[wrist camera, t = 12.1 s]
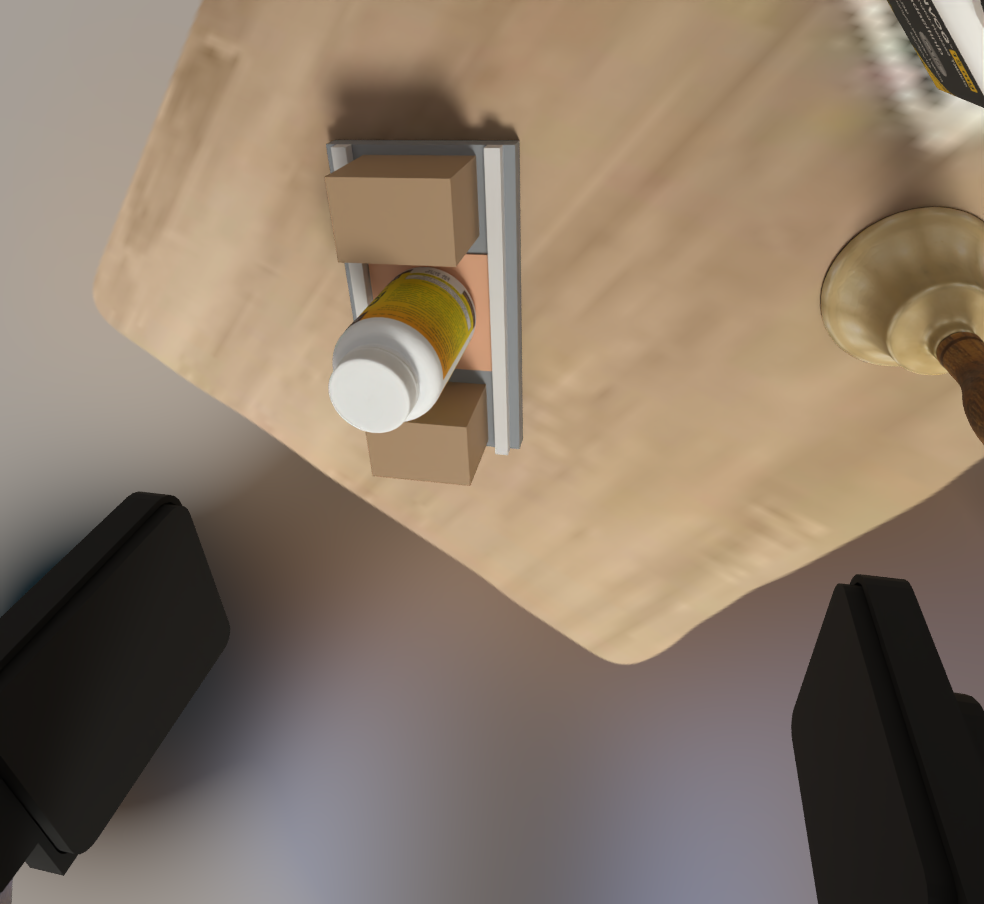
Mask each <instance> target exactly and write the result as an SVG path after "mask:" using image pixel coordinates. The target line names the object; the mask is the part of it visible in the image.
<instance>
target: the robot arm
mask: <svg viewBox="0 0 984 904" xmlns="http://www.w3.org/2000/svg"><path fill="white" fill-rule="evenodd" d="M229 635H230V625H229V621H228V619H227V616H226V613H225V610H224V607H223V605H222V602H221V599H220V596H219V593H218V591H217V588H216V585H215V582H214V579H213V577H212V574H211V571H210V569H209V565H208V563H207V560H206V557H205V554H204V551H203V549H202V546H201V543H200V540H199V537H198V535H197V532H196V529H195V526H194V524H193V521H192V518H191V515H190V513H189V511H188V509H187V508H186V507H184V506H182V504H181V502H180V501H179V499H177V498H176V497H175V496H171V495H165V494H156V493H147V492H135V493H133V494H131V495H130V496H128V497H127V498H126V499H125V500H124V501H123V502H122V503H121V504H120V505H119V506H117V507H116V509H114V510H113V511H112V512H111V513H110V514H109V515H108V516H107V517H106V518H105V519H104V520H103V521H102V522H101V523H100V524H99V525H98V526H96V527H95V528H94V529H93V530H92V531H91V532H90V533H89V534H88V535H87V536H86V537H85V538H84V539H83V540H82V541H81V542H80V543H79V544H78V545H76V546H75V547H74V548H73V549H72V550H71V551H70V552H69V553H68V554H67V555H66V556H65V557H64V558H63V559H62V560H61V561H60V562H59V563H58V564H56V566H54V567H53V568H52V569H51V570H50V571H49V572H48V573H47V574H46V575H45V576H44V577H43V578H42V579H41V580H40V581H39V582H38V583H37V584H36V585H34V586H33V587H32V588H31V589H30V590H29V591H28V592H27V593H26V594H25V595H24V596H23V597H22V598H21V599H20V600H19V601H18V602H17V603H15V604H14V605H13V606H12V607H11V608H10V609H9V610H8V611H7V612H6V613H5V614H4V615H3V616H2V617H1V618H0V904H11V902H12V880H13V877H14V875H15V874H16V872H17V871H18V870H19V868H20V867H21V866H22V865H23V863H24V862H26V863H27V864H28V865H29V867H30V868H34V869H38V870H43V871H47V872H51V873H55V874H59V875H63V876H64V875H65V873H66V872H67V870H68V868H69V867H70V866H71V864H72V863H73V861H74V860H75V858H76V857H77V855H78V854H81V853H84V852H85V851H87V850H88V849H89V848H90V847H91V846H92V845H93V844H94V842H95V841H96V840H97V838H98V837H99V836H100V834H101V833H102V831H103V830H104V828H105V827H106V825H107V824H108V822H109V821H110V819H111V818H112V816H113V815H114V813H115V812H116V810H117V809H118V807H119V806H120V804H121V803H122V801H123V800H124V798H125V797H126V795H127V794H128V792H129V791H130V789H131V788H132V786H133V785H134V783H135V782H136V780H137V779H138V777H139V776H140V774H141V773H142V771H143V769H144V768H145V767H146V765H147V764H148V762H149V761H150V759H151V758H152V756H153V755H154V753H155V752H156V750H157V749H158V747H159V746H160V744H161V743H162V741H163V740H164V738H165V737H166V735H167V734H168V732H169V731H170V729H171V728H172V726H173V725H174V723H175V722H176V720H177V719H178V717H179V716H180V714H181V713H182V711H183V710H184V708H185V707H186V705H187V704H188V702H189V701H190V699H191V698H192V696H193V695H194V693H195V692H196V690H197V689H198V687H199V686H200V684H201V683H202V681H203V680H204V679H205V677H206V675H207V674H208V672H209V671H210V670H211V668H212V666H213V665H214V664H215V662H216V661H217V659H218V657H219V656H220V654H221V653H222V652H223V650H224V648H225V647H226V645H227V642H228V639H229ZM791 729H792V741H793V748H794V754H795V761H796V767H797V773H798V779H799V786H800V792H801V798H802V805H803V811H804V817H805V824H806V830H807V836H808V843H809V849H810V855H811V862H812V868H813V874H814V880H815V887H816V893H817V899H818V904H984V711H983V709H982V707H981V705H980V704H979V703H978V702H977V701H976V700H975V699H974V698H973V697H972V696H969V695H966V694H960V693H954V692H953V690H952V687H951V685H950V682H949V680H948V678H947V675H946V672H945V670H944V667H943V664H942V662H941V660H940V657H939V655H938V652H937V649H936V647H935V644H934V642H933V639H932V637H931V634H930V632H929V629H928V626H927V624H926V621H925V619H924V616H923V614H922V611H921V609H920V606H919V604H918V601H917V599H916V596H915V594H914V591H913V589H912V587H911V585H910V583H909V582H908V581H906V580H904V579H895V578H887V577H878V576H870V575H861V574H860V575H859V574H857V575H855V576H854V577H853V578H852V580H851V582H850V585H849V584H837V586H836V587H835V589H834V591H833V595H832V598H831V600H830V603H829V606H828V609H827V612H826V615H825V618H824V621H823V624H822V627H821V630H820V633H819V636H818V639H817V642H816V645H815V648H814V651H813V654H812V657H811V659H810V662H809V666H808V668H807V672H806V674H805V677H804V680H803V683H802V686H801V689H800V692H799V695H798V698H797V701H796V704H795V707H794V710H793V715H792V725H791Z"/></svg>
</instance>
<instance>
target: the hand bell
mask: <svg viewBox="0 0 984 904" xmlns="http://www.w3.org/2000/svg"><path fill="white" fill-rule="evenodd" d="M821 314H822V319H823V322H824V325H825V328H826V330H827V331H828V333H829V335H830V337H831V338H832V340H833V341H834V342H835V343H836V344H837V345H838V346H839V347H840V348H841V349H842V350H843V351H845V352H846V353H848V354H849V355H851V356H853V357H854V358H856V359H859V360H862V361H864V362H867V363H871V364H876V365H883V366H901V367H903V368H904V369H906V370H908V371H911V372H914V373H918V374H924V375H939V374H946V373H949V374H950V375H951V376H952V377H953V378H954V379H955V380H956V381H957V382H958V384H959V385H960V387H961V390H962V400H963V407H964V411H965V414H966V416H967V419H968V421H969V423H970V426H971V427H972V429H973V431H974V432H975V434H976V435H977V437H978V438H979V439H980V441H981V442H982V443H983V444H984V222H983V221H981V220H980V219H978V218H977V217H975V216H973V215H971V214H969V213H966V212H963V211H960V210H956V209H951V208H943V207H926V208H917V209H912V210H908V211H903V212H900V213H897V214H894V215H892V216H889V217H886V218H884V219H882V220H880V221H878V222H877V223H875V224H873V225H871V226H870V227H868V228H867V229H865V230H864V231H862V232H861V233H860V234H858V235H857V236H856V237H855V238H854V239H853V240H852V241H850V242H849V244H848V245H847V246H846V247H845V248H844V249H843V250H842V251H841V253H840V254H839V255H838V256H837V258H836V259H835V261H834V262H833V264H832V265H831V267H830V269H829V271H828V273H827V276H826V278H825V281H824V284H823V288H822V293H821Z"/></svg>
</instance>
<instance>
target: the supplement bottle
mask: <svg viewBox="0 0 984 904" xmlns="http://www.w3.org/2000/svg"><path fill="white" fill-rule="evenodd" d="M475 325H476V312H475V307H474V304H473V301H472V298H471V296H470V294H469V293H468V291H467V290H466V288H465V287H464V286H463V285H462V284H461V283H460V282H459V281H458V280H457V279H456V278H455V277H453V276H452V275H450V274H448V273H447V272H444V271H442V270H439V269H436V268H431V267H416V268H412V269H408V270H406V271H404V272H402V273H400V274H399V275H398V276H396V277H395V278H394V279H393V280H392V281H391V282H390V283H389V284H388V285H387V286H386V287H385V288H384V289H383V290H382V291H381V293H380V294H379V295H378V296H377V297H376V298H375V299H374V300H373V301H372V302H371V303H370V305H369V306H368V307H367V308H366V309H365V310H364V311H363V312H362V313H361V314H360V315H359V316H358V318H357V319H356V320H355V321H354V322H353V323H352V324H351V325H350V326H349V327H348V328H347V329H346V330H345V332H344V333H343V334H342V335H341V337H340V338H339V340H338V342H337V344H336V346H335V349H334V353H333V373H332V374H331V377H330V380H329V396H330V399H331V402H332V404H333V406H334V408H335V409H336V411H337V412H338V414H339V415H340V416H341V417H342V418H343V419H344V420H345V421H347V422H348V423H349V424H351V425H352V426H354V427H356V428H358V429H360V430H363V431H366V432H371V433H385V432H389V431H392V430H394V429H396V428H398V427H399V426H400V425H401V424H403V422H406V421H410V420H413V419H416V418H418V417H420V416H422V415H423V414H425V413H426V412H427V411H429V410H430V409H431V408H432V406H433V405H434V404H435V402H436V401H437V400H438V398H439V396H440V394H441V393H442V391H443V389H444V387H445V386H446V384H447V382H448V380H449V379H450V377H451V375H452V373H453V371H454V369H455V368H456V366H457V364H458V362H459V360H460V359H461V357H462V355H463V353H464V351H465V350H466V348H467V346H468V344H469V342H470V340H471V338H472V336H473V333H474V330H475Z"/></svg>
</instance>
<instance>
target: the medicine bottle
mask: <svg viewBox="0 0 984 904" xmlns="http://www.w3.org/2000/svg"><path fill="white" fill-rule="evenodd" d="M887 1H888V3H889V5H890V7H891V8H892V10H893V12H894V14H895V15H896V17H897V19H898V21H899V22H900V24H901V26H902V28H903V29H904V31H905V33H906V35H907V36H908V38H909V40H910V42H911V43H912V45H913V47H914V49H915V50H916V52H917V54H918V56H919V57H920V59H921V61H922V63H923V64H924V66H925V68H926V70H927V71H928V73H929V75H930V77H931V78H932V80H933V82H934V84H935V85H936V87H937V88H938V89H939V90H942V91H944V92H947V93H949V94H952V95H954V96H956V97H959V98H961V99H964V100H966V101H969V102H971V103H973V104H976V105H978V106H981V107H983V108H984V0H887Z"/></svg>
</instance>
